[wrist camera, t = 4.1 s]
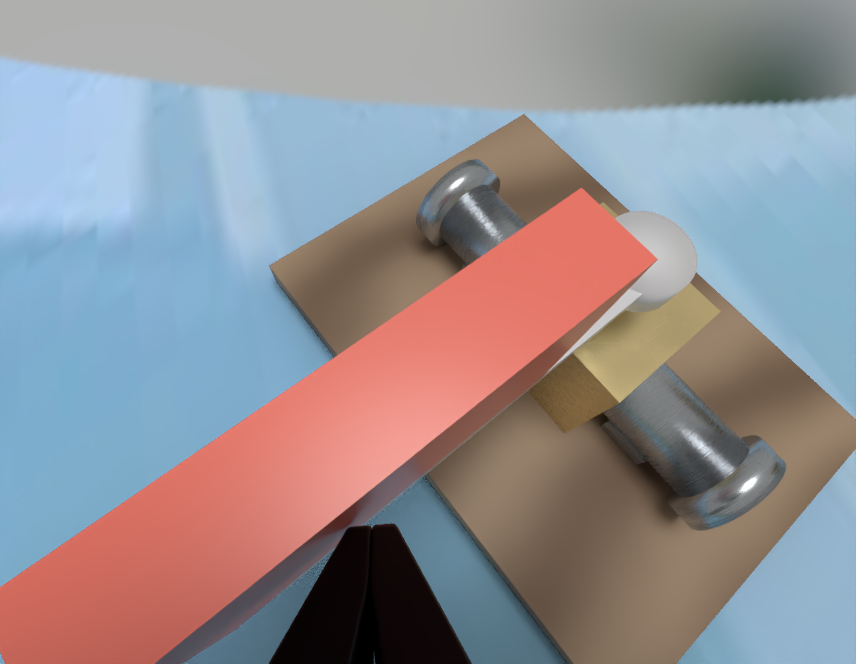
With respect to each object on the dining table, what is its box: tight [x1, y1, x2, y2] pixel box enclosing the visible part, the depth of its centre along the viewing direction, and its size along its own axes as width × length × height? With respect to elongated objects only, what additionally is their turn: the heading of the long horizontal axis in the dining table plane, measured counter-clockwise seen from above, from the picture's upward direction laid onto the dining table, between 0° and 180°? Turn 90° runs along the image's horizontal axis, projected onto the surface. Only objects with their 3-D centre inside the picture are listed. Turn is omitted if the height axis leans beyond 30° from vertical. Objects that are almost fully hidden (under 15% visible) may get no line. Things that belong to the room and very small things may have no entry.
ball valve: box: [416, 159, 786, 531], centre depth 18 cm, size 16×5×6 cm, turn 39°
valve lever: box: [0, 188, 697, 664], centre depth 10 cm, size 15×3×7 cm, turn 129°
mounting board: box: [269, 114, 856, 664], centre depth 22 cm, size 22×16×2 cm
